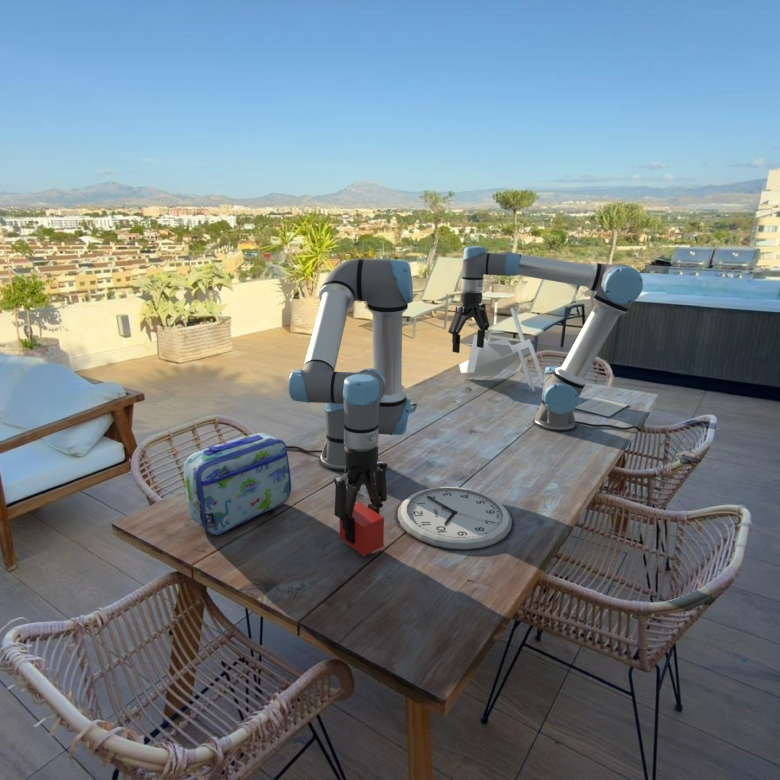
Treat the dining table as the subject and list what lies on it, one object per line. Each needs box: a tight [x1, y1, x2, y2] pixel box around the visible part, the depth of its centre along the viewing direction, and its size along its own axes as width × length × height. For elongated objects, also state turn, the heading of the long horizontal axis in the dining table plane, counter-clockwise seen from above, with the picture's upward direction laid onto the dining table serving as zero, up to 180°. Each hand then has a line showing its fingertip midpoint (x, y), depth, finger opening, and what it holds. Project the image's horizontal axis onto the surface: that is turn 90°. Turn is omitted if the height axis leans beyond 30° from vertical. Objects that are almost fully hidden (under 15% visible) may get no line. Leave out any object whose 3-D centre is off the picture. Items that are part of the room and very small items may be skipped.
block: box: [339, 501, 385, 557], centre depth 122 cm, size 9×6×8 cm, turn 41°
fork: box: [410, 396, 419, 407], centre depth 222 cm, size 3×16×2 cm, turn 160°
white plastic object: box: [458, 307, 544, 393], centre depth 256 cm, size 37×45×31 cm
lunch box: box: [183, 432, 292, 536], centre depth 133 cm, size 26×11×21 cm, turn 134°
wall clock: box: [397, 486, 513, 550], centre depth 138 cm, size 30×2×30 cm
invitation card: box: [575, 396, 629, 418], centre depth 226 cm, size 21×1×15 cm
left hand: (361, 535), depth 122 cm, fingers closed on block, 6 cm apart
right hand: (468, 349), depth 192 cm, fingers open, 13 cm apart
